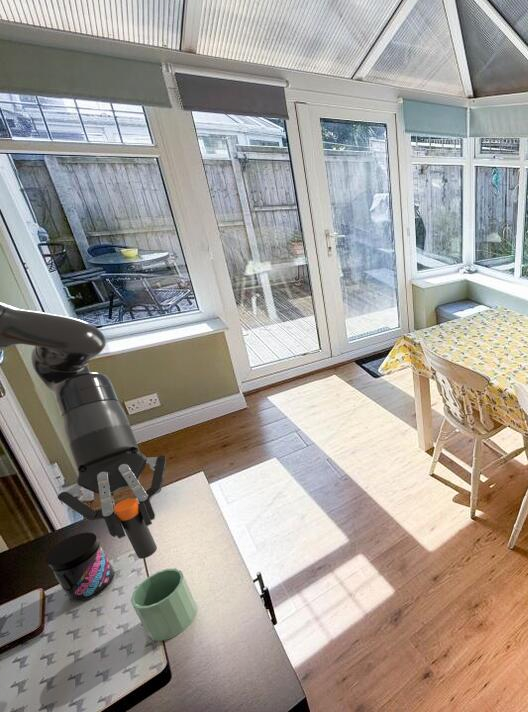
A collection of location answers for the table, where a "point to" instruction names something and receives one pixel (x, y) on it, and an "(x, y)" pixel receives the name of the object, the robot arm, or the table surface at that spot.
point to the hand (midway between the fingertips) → (135, 530)
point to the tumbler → (164, 604)
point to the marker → (135, 527)
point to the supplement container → (80, 566)
